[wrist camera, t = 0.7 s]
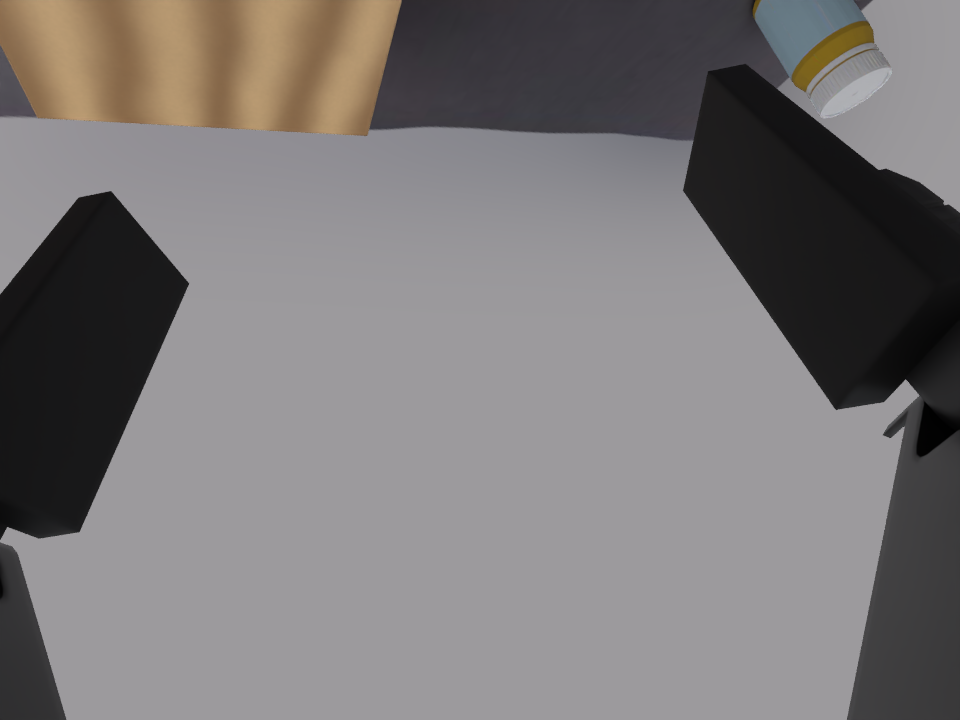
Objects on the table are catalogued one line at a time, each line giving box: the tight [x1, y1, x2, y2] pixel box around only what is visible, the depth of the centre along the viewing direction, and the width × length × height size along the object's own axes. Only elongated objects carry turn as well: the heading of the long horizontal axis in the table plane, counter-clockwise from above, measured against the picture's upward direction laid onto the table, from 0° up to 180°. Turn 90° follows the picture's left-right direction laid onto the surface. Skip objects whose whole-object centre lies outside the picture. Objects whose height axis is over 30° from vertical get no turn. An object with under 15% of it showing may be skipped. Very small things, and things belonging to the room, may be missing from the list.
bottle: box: [753, 0, 892, 118], centre depth 48 cm, size 7×7×15 cm
